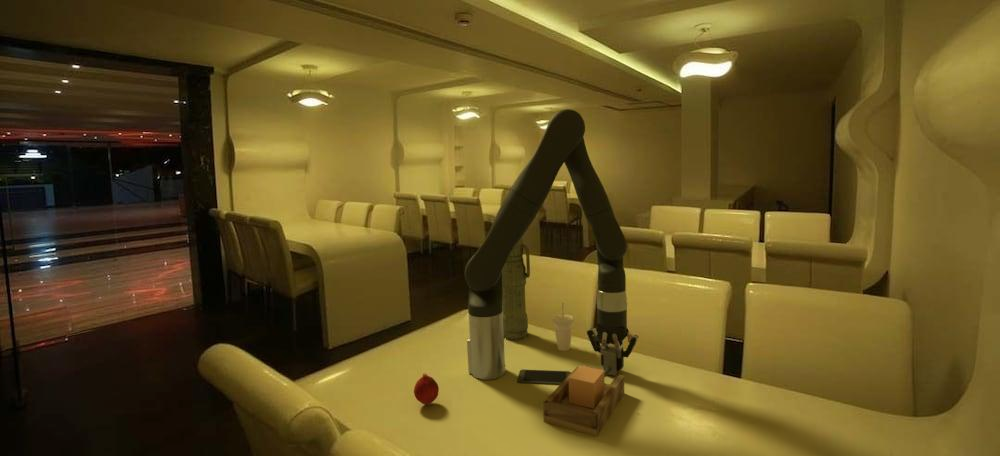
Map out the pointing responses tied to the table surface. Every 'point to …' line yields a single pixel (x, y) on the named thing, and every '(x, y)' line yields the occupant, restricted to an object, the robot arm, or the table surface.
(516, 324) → the thermos
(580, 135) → the robot arm
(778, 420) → the table surface
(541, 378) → the cell phone
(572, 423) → the wooden crate
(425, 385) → the onion
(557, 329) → the smoothie
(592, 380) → the block
